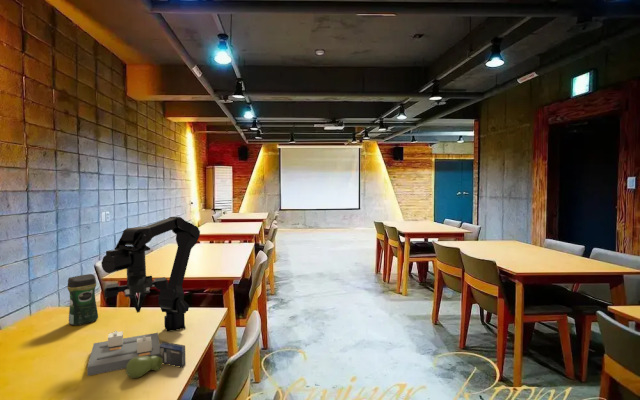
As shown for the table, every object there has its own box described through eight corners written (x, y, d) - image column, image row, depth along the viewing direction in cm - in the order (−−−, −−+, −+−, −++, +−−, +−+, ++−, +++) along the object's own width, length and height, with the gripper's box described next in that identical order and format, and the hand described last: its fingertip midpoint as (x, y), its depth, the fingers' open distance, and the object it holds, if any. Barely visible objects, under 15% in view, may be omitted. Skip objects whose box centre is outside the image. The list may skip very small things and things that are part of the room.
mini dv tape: (160, 363, 111) (159, 343, 111) (163, 361, 113) (163, 341, 113) (182, 367, 108) (181, 347, 108) (185, 365, 110) (185, 345, 110)
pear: (123, 357, 103) (156, 350, 111) (120, 376, 103) (154, 368, 111) (134, 362, 100) (167, 354, 108) (131, 382, 100) (165, 373, 108)
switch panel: (157, 339, 129) (157, 332, 128) (161, 361, 112) (160, 352, 112) (94, 350, 120) (93, 342, 120) (87, 375, 104) (87, 366, 104)
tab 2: (151, 345, 117) (150, 334, 117) (151, 350, 113) (151, 339, 113) (137, 348, 115) (136, 336, 115) (137, 353, 112) (136, 341, 112)
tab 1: (123, 340, 121) (122, 329, 121) (122, 344, 118) (122, 333, 118) (109, 342, 120) (108, 331, 120) (108, 347, 116) (107, 335, 116)
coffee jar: (93, 316, 153) (92, 271, 152) (100, 320, 148) (99, 274, 147) (66, 322, 146) (64, 276, 145) (72, 327, 140) (70, 279, 140)
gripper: (102, 275, 111) (105, 326, 112) (169, 267, 120) (171, 314, 121) (103, 267, 121) (106, 314, 122) (165, 260, 130) (167, 304, 131)
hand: (138, 312), depth 124 cm, fingers closed
